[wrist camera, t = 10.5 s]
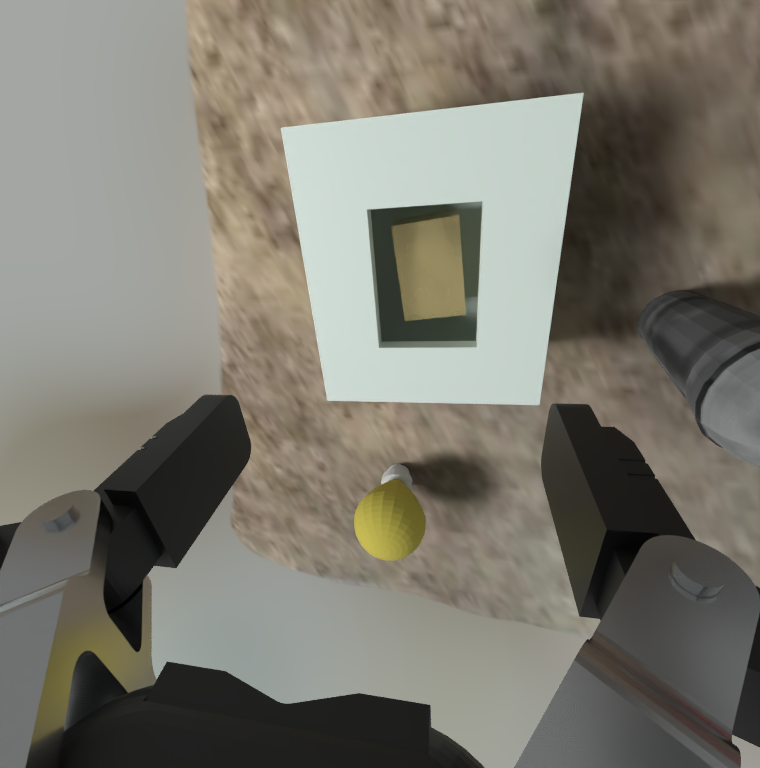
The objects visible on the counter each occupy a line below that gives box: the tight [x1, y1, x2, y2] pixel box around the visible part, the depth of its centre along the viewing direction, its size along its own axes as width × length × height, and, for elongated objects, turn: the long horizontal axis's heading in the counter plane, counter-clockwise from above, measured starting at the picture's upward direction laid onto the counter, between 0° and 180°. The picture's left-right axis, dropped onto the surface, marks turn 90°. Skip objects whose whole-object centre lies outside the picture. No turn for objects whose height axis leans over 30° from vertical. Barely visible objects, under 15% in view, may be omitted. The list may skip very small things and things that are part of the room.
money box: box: [281, 93, 584, 405], centre depth 26 cm, size 16×14×10 cm
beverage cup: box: [638, 291, 760, 467], centre depth 21 cm, size 7×7×20 cm
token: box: [391, 209, 466, 321], centre depth 26 cm, size 6×4×4 cm, turn 9°
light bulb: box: [354, 464, 426, 561], centre depth 38 cm, size 7×7×10 cm
